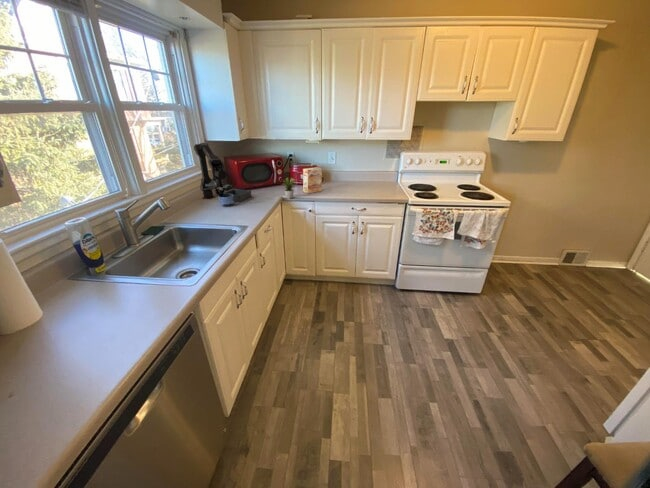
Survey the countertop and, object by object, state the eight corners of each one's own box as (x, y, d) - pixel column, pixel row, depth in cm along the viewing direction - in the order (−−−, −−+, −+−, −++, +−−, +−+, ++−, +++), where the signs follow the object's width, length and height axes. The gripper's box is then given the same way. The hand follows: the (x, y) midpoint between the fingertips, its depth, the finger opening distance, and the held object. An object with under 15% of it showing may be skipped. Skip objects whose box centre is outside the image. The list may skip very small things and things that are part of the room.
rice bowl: (216, 203, 196) (215, 196, 194) (224, 199, 205) (223, 192, 203) (228, 205, 194) (227, 198, 192) (236, 201, 202) (235, 194, 200)
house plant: (294, 201, 212) (293, 179, 205) (277, 199, 215) (276, 178, 208) (300, 196, 224) (300, 176, 217) (285, 195, 228) (284, 175, 221)
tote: (222, 199, 213) (221, 193, 211) (234, 194, 227) (233, 188, 224) (240, 201, 209) (239, 195, 207) (251, 196, 222) (250, 190, 220)
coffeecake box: (307, 193, 233) (307, 169, 224) (303, 192, 238) (302, 168, 229) (322, 191, 241) (322, 168, 233) (317, 189, 246) (317, 166, 238)
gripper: (197, 177, 188) (201, 200, 195) (221, 180, 183) (224, 203, 190) (208, 174, 198) (212, 196, 205) (231, 176, 193) (234, 198, 200)
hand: (220, 198), depth 199 cm, fingers closed on rice bowl
